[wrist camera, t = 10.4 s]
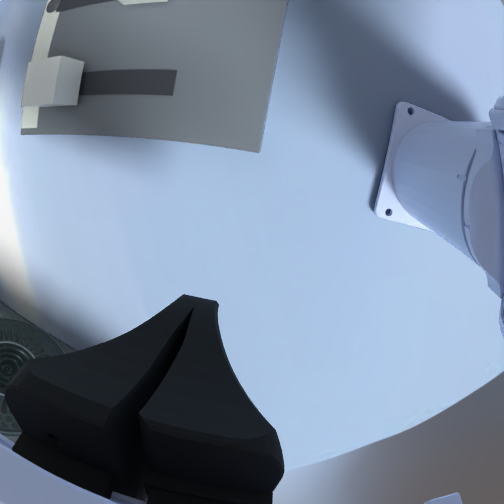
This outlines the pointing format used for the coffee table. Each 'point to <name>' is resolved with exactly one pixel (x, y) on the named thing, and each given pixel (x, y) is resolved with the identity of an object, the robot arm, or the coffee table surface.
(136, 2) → the white cube
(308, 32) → the coffee table surface
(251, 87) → the switch board
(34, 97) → the switch tab
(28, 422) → the robot arm
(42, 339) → the cassette player
